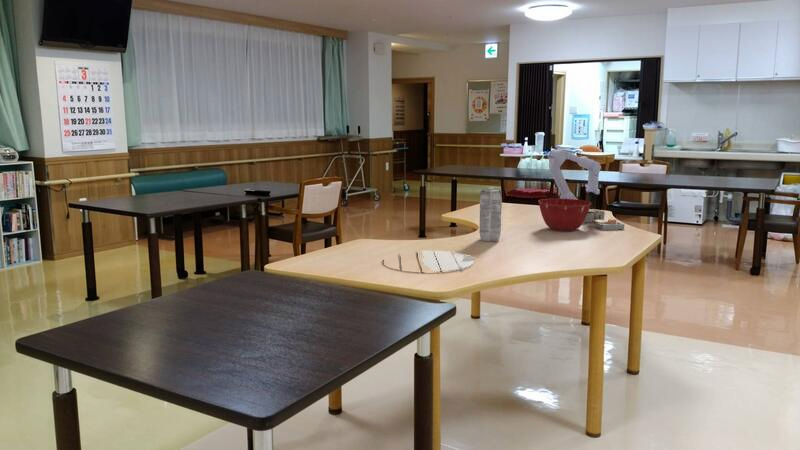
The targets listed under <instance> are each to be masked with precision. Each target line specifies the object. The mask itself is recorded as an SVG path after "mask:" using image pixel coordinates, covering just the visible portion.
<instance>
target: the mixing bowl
mask: <svg viewBox="0 0 800 450" xmlns="http://www.w3.org/2000/svg"><path fill="white" fill-rule="evenodd" d="M538 205H539V209H540V213H541V216H542V219H543V221H544V223H545V225H546V226H547V227H548V228H550V230H553V231H558V232H573V231H576V230H578V229H579V228H580V227H581V226H582V225H583V224H584V223H583V222H584V220H585V218H586V216H587V214H588V211H589V209H591V208H590V207H591V206H592V205H591V202H589V200H588V201H587V200H583V199H578V200H576V199H560V198H541V199H538Z"/></svg>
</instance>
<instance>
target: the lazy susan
mask: <svg viewBox="0 0 800 450" xmlns="http://www.w3.org/2000/svg"><path fill="white" fill-rule="evenodd" d="M422 251H423V252H422V254H423V256H424V258H423V260H422V259H421V260H422V261H423V262H424V265H426V266H428V268H431V269H430V270H433V271H438V272H439V271H441V270H442V271H456V270H461V271H465V270H468V269H470V268H471V266H472V267H473V266H474V264H475V261H476V259H475V257H473V256H472V255H470V254H464V253H460V252H459V253H458V252H455V250H452V251H445V250H430V249H429V250H426V249H425V250H422ZM434 253H435V255H434ZM435 256H436V257H435ZM436 258H437V260H436ZM455 260H456V261H455ZM437 261H438V262H437ZM456 262H457V263H456ZM438 263H439V265H438ZM457 264H458V265H457ZM439 266H440V267H439ZM458 266H459V267H458ZM440 268H441V270H440ZM459 268H460V269H459ZM467 268H468V269H467ZM464 269H465V270H464ZM456 272H457V271H456Z"/></svg>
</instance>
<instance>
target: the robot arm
mask: <svg viewBox="0 0 800 450" xmlns="http://www.w3.org/2000/svg"><path fill="white" fill-rule="evenodd" d="M547 158H548V167H549V171H550V173H551V175H552V176H551V177H552V178H553V179H554V182H555V184H556V187H557V188H558V191H559V193H560V195H559V199H576V200H579V199H578V198H577V197H576V196H575V195H574V193H573V192H572V191H571V190H570V187H569V186H568V183H567V181H566V179H565V175H564V174H563V172H562V170H561V167H562V165H563V163H564V162H565V161H566V160H570V161H573V162H575V163H577V164H578V166H579V167H582V168H583V169H587V171H588V176H587V177H588V178H587V187H586V188H585V191H586V192H587V193H586V196H587V198H588V202H591V205H590V206H595V203H596V201H597V198H598V196H599V195H600V193H601V192H600V191H601V190H600V189H599V178H600V177H599V176H600V175H599V174H600V171H601V170H602V166H601V163H600V162H599V161H595V160H594V159H593V158H591V159H590V158H588V156H587V155H583V156H578V155H577V154H574V153H572V152H570V151H569V150H567V151H566V150H564V149H556V148H555V149H554V148H553V149H552V150H550V151H549V153H548V156H547Z"/></svg>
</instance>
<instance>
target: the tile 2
mask: <svg viewBox="0 0 800 450" xmlns="http://www.w3.org/2000/svg"><path fill="white" fill-rule="evenodd" d="M607 220H608V224H610V225H615V224H617V219H616V218H615V219H614V218H611V219H609V218H608V219H607Z"/></svg>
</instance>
